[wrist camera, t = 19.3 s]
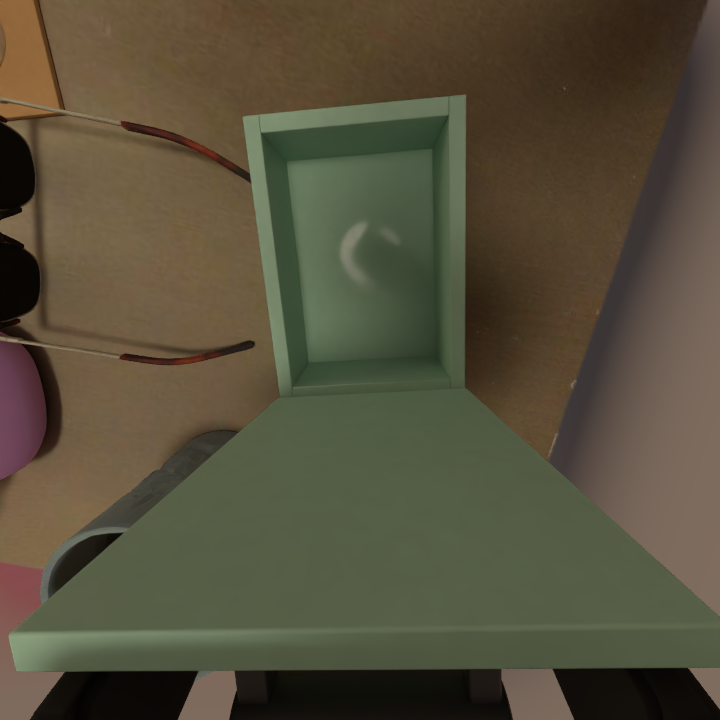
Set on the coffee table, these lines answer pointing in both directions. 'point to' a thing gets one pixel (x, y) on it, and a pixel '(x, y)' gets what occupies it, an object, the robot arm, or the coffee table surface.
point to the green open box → (363, 244)
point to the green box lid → (371, 570)
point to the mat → (26, 62)
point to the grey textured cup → (128, 514)
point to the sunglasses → (20, 268)
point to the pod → (2, 44)
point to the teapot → (19, 408)
